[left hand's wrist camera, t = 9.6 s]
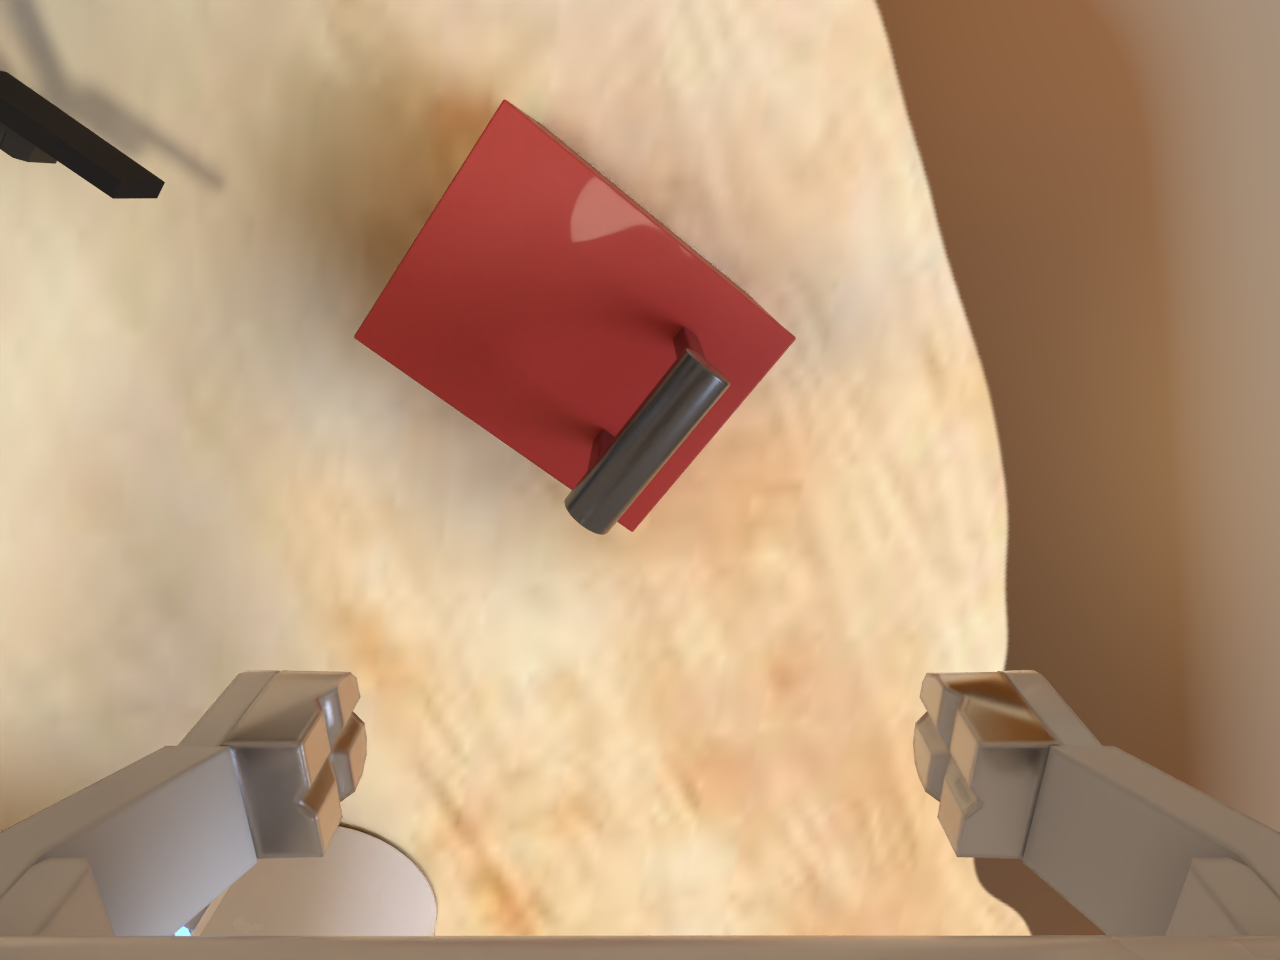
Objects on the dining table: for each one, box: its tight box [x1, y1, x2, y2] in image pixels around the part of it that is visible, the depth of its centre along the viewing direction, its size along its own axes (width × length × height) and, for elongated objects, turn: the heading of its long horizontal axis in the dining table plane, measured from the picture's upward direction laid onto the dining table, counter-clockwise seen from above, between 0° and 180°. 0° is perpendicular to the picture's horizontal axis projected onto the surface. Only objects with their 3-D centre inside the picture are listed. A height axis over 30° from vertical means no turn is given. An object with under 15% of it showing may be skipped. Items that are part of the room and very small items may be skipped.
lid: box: [354, 100, 796, 535], centre depth 25 cm, size 13×10×8 cm
